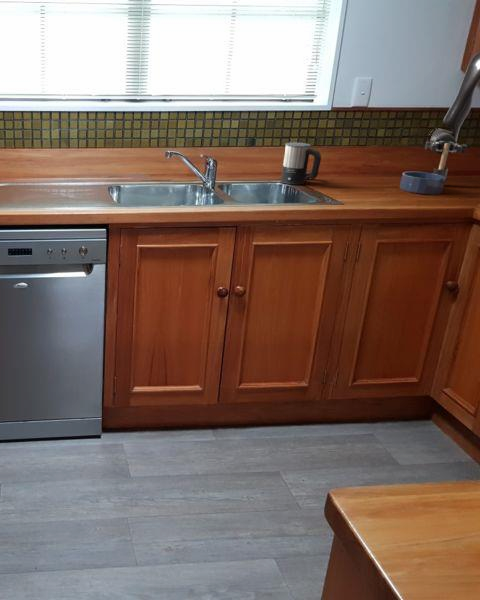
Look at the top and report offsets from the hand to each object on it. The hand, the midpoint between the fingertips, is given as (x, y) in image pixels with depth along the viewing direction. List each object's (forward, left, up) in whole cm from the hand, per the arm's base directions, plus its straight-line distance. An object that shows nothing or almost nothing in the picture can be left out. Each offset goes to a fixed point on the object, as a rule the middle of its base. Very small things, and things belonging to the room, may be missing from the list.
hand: (446, 149), depth 229 cm
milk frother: (+49, +18, -15) cm, 54 cm away
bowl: (+6, +11, -15) cm, 19 cm away
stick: (0, -2, -14) cm, 14 cm away
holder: (0, -2, -15) cm, 15 cm away
